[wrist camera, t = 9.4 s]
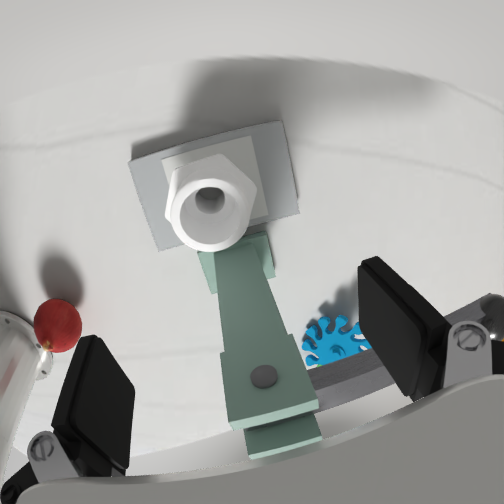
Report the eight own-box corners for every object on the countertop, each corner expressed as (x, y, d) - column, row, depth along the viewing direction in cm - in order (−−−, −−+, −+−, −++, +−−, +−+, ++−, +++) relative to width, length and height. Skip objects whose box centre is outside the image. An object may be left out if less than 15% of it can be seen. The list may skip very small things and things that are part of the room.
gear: (325, 302, 35) (391, 354, 31) (342, 286, 39) (400, 332, 36) (283, 360, 40) (338, 406, 36) (303, 341, 45) (353, 382, 41)
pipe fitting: (168, 217, 28) (154, 256, 20) (183, 141, 25) (172, 152, 18) (235, 230, 29) (243, 273, 22) (255, 156, 26) (272, 174, 19)
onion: (78, 332, 33) (60, 378, 26) (41, 307, 31) (16, 350, 24) (96, 304, 32) (77, 351, 25) (57, 276, 30) (29, 318, 23)
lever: (243, 411, 18) (252, 457, 15) (229, 379, 17) (236, 430, 13) (487, 315, 19) (513, 341, 16) (496, 278, 17) (527, 304, 14)
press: (181, 299, 33) (179, 473, 15) (131, 160, 26) (15, 262, 8) (304, 266, 34) (393, 416, 16) (278, 120, 27) (419, 151, 9)
